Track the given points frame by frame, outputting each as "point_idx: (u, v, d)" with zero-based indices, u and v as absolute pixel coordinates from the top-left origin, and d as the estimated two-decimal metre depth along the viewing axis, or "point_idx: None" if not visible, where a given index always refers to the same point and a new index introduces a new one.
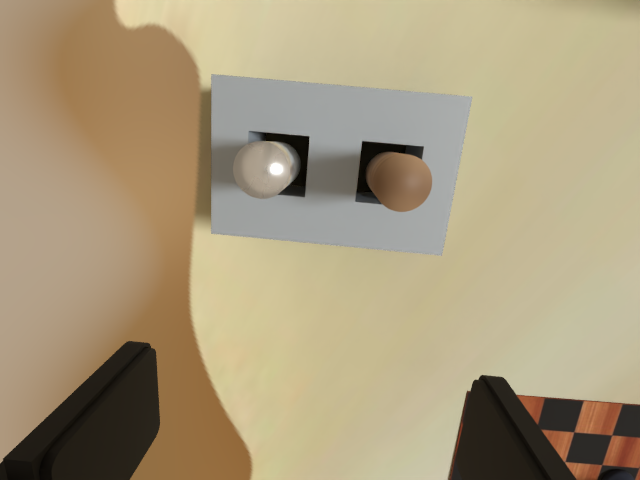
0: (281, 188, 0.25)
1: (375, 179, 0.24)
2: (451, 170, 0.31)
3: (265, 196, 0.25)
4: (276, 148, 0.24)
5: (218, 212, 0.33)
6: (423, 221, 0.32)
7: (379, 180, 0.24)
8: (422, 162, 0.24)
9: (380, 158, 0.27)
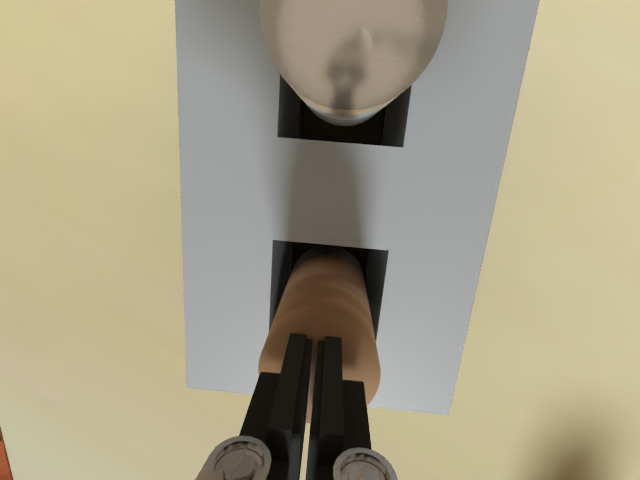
0: (295, 82, 0.08)
1: (327, 319, 0.11)
2: None
3: (268, 24, 0.08)
4: (420, 67, 0.08)
5: None
6: (244, 357, 0.18)
7: (325, 328, 0.11)
8: None
9: (361, 295, 0.14)
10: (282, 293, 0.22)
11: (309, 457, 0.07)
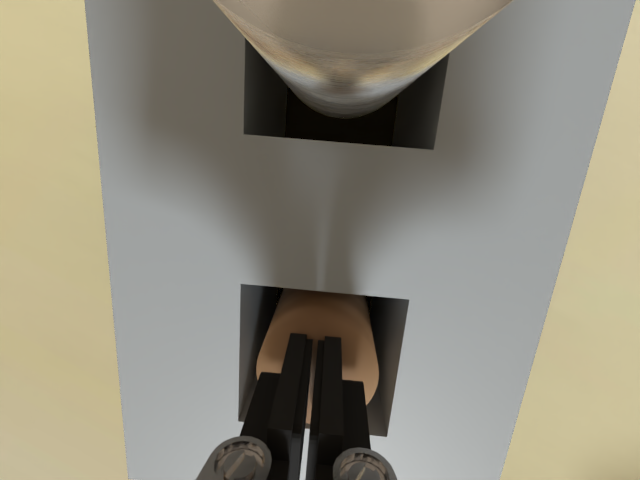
0: None
1: (325, 320, 0.11)
2: None
3: None
4: None
5: None
6: (205, 442, 0.13)
7: (323, 328, 0.11)
8: None
9: (360, 295, 0.14)
10: (263, 339, 0.17)
11: (309, 457, 0.07)
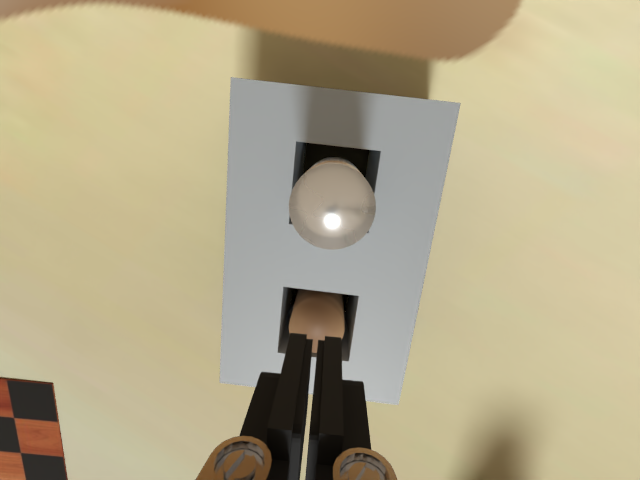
0: (304, 236, 0.16)
1: (321, 303, 0.24)
2: None
3: (292, 211, 0.16)
4: (363, 233, 0.16)
5: (264, 93, 0.21)
6: (260, 363, 0.27)
7: (320, 307, 0.25)
8: None
9: (338, 293, 0.28)
10: (286, 316, 0.30)
11: (309, 457, 0.07)
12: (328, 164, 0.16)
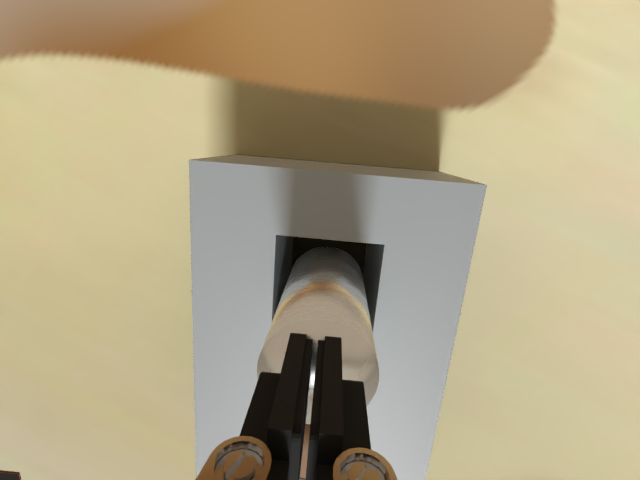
0: None
1: None
2: None
3: None
4: None
5: (232, 178, 0.17)
6: None
7: None
8: None
9: None
10: None
11: (309, 457, 0.07)
12: (310, 319, 0.11)
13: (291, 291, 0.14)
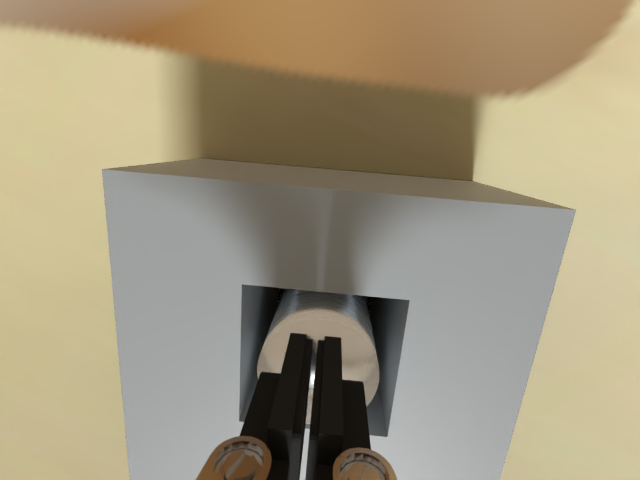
0: None
1: None
2: None
3: None
4: None
5: (171, 198, 0.11)
6: None
7: None
8: None
9: None
10: None
11: (309, 457, 0.07)
12: (310, 319, 0.11)
13: (291, 291, 0.14)
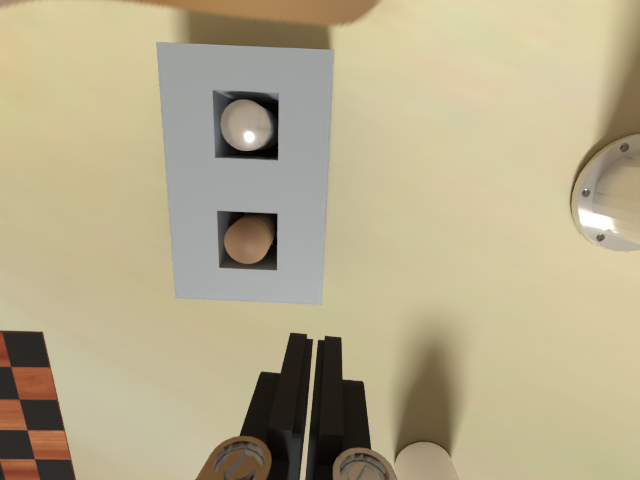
0: (231, 144, 0.29)
1: (247, 221, 0.31)
2: (258, 296, 0.33)
3: (223, 129, 0.29)
4: (264, 139, 0.29)
5: (183, 53, 0.28)
6: (206, 278, 0.33)
7: (247, 224, 0.31)
8: (263, 255, 0.32)
9: (268, 220, 0.34)
10: None
11: (309, 457, 0.07)
12: (239, 100, 0.28)
13: None
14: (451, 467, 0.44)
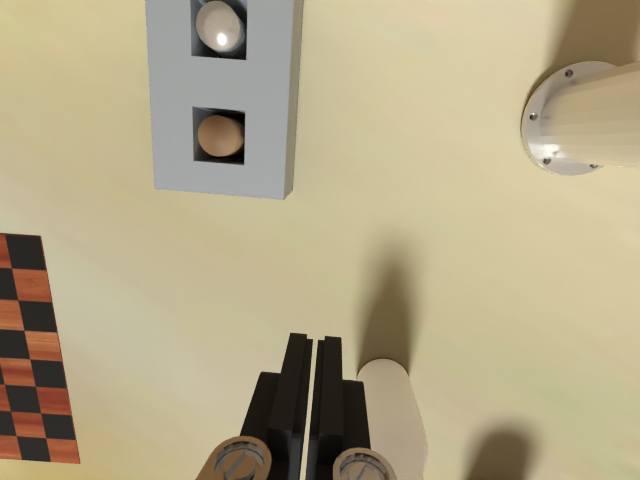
0: (205, 42, 0.33)
1: (218, 116, 0.35)
2: (227, 189, 0.37)
3: (198, 28, 0.33)
4: (234, 38, 0.33)
5: None
6: (182, 170, 0.37)
7: (217, 118, 0.35)
8: (232, 148, 0.36)
9: (240, 125, 0.38)
10: (208, 153, 0.41)
11: (309, 457, 0.07)
12: (213, 1, 0.32)
13: None
14: (406, 378, 0.48)
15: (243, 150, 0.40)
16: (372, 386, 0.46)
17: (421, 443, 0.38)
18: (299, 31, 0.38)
